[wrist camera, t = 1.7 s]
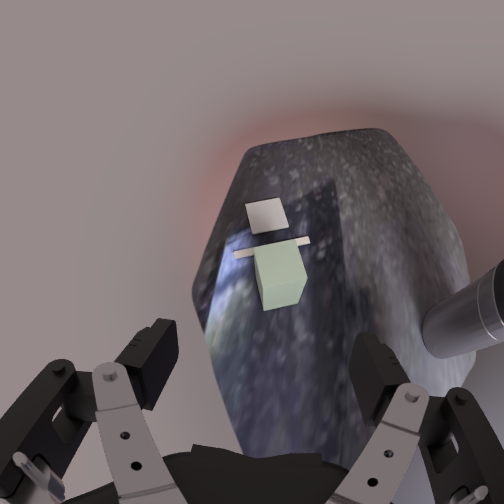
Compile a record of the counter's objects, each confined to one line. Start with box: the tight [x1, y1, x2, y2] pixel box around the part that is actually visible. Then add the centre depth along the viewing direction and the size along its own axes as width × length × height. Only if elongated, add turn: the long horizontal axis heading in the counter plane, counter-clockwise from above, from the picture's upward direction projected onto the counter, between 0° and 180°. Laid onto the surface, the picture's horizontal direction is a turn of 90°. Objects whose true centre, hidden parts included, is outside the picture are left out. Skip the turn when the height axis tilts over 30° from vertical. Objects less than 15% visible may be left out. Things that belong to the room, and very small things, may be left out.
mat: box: [245, 198, 289, 235], centre depth 45 cm, size 6×6×1 cm
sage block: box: [253, 239, 307, 311], centre depth 35 cm, size 5×5×10 cm
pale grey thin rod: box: [234, 236, 310, 259], centre depth 43 cm, size 12×1×1 cm, turn 102°
